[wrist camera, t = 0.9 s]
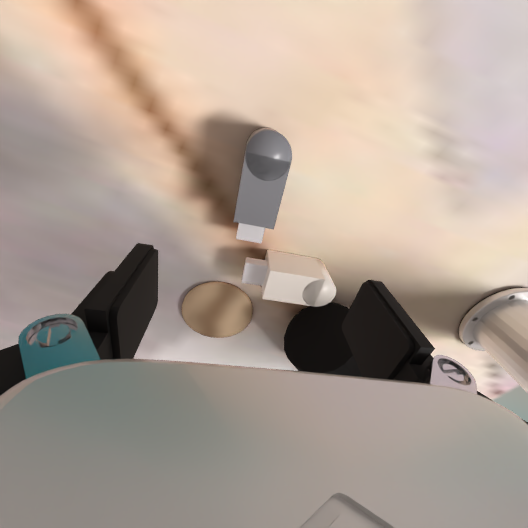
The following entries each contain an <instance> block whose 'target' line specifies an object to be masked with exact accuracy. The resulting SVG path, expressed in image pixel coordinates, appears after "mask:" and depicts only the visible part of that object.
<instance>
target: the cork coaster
mask: <svg viewBox="0 0 528 528" xmlns="http://www.w3.org/2000/svg"><path fill="white" fill-rule="evenodd" d="M252 314H253V308H252V303H251V300H250V299H249V297H248V296H247V294H246V293H245V292H244V291H242V290H241V289H240V288H238V287H236V286H234V285H232V284H229V283H225V282H207V283H203V284H200V285H198V286H196V287H194V288H193V289H192V290H190V291H189V292H188V294H187V295H186V296H185V298H184V301H183V304H182V316H183V318H184V320H185V322H186V323H187V325H188V326H189V327H190V328H192V329H193V330H194V331H196V332H198V333H200V334H202V335H205V336H209V337H216V338H222V337H229V336H232V335H235V334H238V333H239V332H241V331H242V330H244V329H245V328H246V327H247V326H248V324H249V323H250V321H251V319H252Z"/></svg>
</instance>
